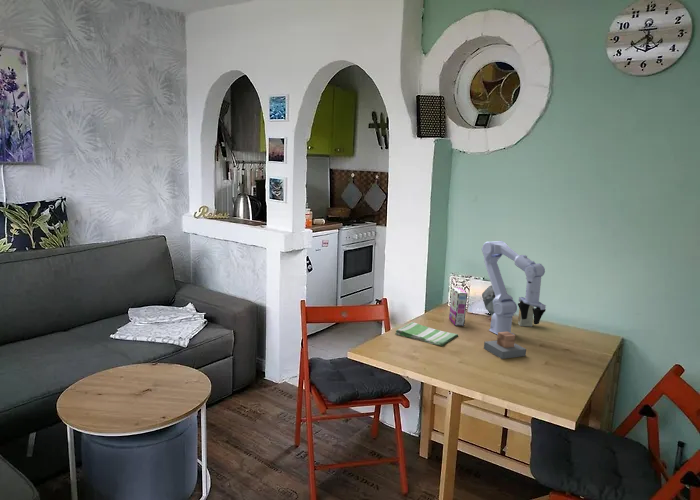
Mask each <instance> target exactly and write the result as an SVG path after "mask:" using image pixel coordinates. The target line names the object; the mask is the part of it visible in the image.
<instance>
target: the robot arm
mask: <svg viewBox="0 0 700 500" xmlns="http://www.w3.org/2000/svg"><path fill="white" fill-rule="evenodd" d="M481 252H482V255H483V259H484V261H483V262H484V266H485V269H486V271H487V275H488V277H489V280H490V283H491V285H492V287H493V290H494V293H495V296H496V297H495V299H494V300H493V305H494V307H493V309H494V312H495V313H494V314H493V315H492V317H491V316H490V317H491V320H490V326H489V327H490V328H488V331H489V332H491V333H494V334H495V335H497V336H498V332H510V333H512V334H514V335H515V336H516V334H515V333H513V332H512V323H513V316H514V315H515V313H516V312H517V310H518V308H520V312H521V317H522V319H527V314H528V309H529V306H530V305H531V306H534V308H532V310H533V324H534V325H539V324H540V321H541V318H542V317H543V315H544V314H545V312H546V308H547V307H546V306H547V305H546V304H543V303H542V302H540V294H541V285H542V277H543V276H544V275H545V272H546V271H545V269H546V268H545V266H544V265H543V264H542V263H536V262H535V260H531V259H530V258H529V257H528V255H526V254H518V253H517V252H516V251H514V250H513V249H512V248H511V247H509V245H508V244H507V243H506V242H504V241H503V240H496V241H495V240H494V241H489V240H488V241H485V242H484V243H483V245H482V247H481ZM502 256H505V257H506V258H508V259H510V260H512V262H513V261H514V265H515V266H516V267H518V268H519V269H520V270H521V271H523V272H524V275H525V276H526V277H525V279H526V287H525V297H523V296H521V297H518V303H516V302H515V300H514V298H513V296H512V295H510V294H509V293H508V292H507V289H506V285H505V282H504V279H503V277H502V274H501V270H500V267H499V264H498V261H499V260H500V259H501V257H502Z"/></svg>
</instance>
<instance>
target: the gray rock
mask: <svg viewBox="0 0 700 500" xmlns="http://www.w3.org/2000/svg"><path fill="white" fill-rule="evenodd" d="M495 297H496V296H495V293H494V290H493V287H492V284H491V285H490V286H488V287H487V288H486V289H485V290H484V291H483V292H482V294H481V298H482V302H483V304H484V308H485V310H487V312H489V313H490V314H491V315H490V317H489V320H490V321H491V317H492V315H493V314H494V313H495V312H494V309H493V307H494V305H493V300H494V299H495Z"/></svg>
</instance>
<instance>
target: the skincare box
mask: <svg viewBox="0 0 700 500" xmlns="http://www.w3.org/2000/svg"><path fill="white" fill-rule="evenodd" d="M518 308H519V307H518ZM532 308H535V307H534V306H531V305H530V306H529V309H528V314H527V319H522V317H521V312H520V308H519V309H518V319H517V320H518V322H517V324H518V325H519V326H520V327H533V324H534V314H533V310H532Z"/></svg>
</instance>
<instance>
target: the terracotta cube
mask: <svg viewBox="0 0 700 500" xmlns="http://www.w3.org/2000/svg"><path fill="white" fill-rule="evenodd" d="M512 333H513V332H511V333H510V332H498V335H497V337H496V340H497V344H498V345H500V346H502V347H504V348H508V347H514V343H515V342H516V334H515V333H513V334H512ZM514 334H515V335H514ZM515 344H516V343H515Z"/></svg>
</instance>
